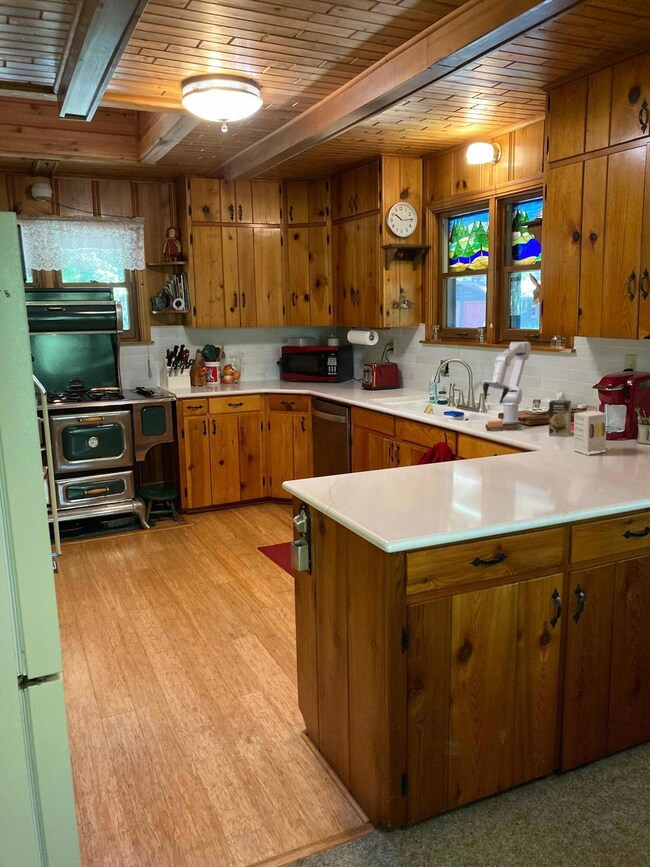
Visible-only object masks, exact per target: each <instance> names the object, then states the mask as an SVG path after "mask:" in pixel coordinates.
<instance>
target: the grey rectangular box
mask: <svg viewBox="0 0 650 867" xmlns="http://www.w3.org/2000/svg"><path fill="white" fill-rule="evenodd" d="M571 407H572V401H571V400H557V399H556V400H553V399H552V400H550V401H549V402H548V436H549V437H567V438H568V437H570V435H571V433H572V432H571V426H572V425H571V424H572V422H571V420H572V419H571V418H572V417H571V416H572V415H571V412H572V411H571V410H572V408H571Z"/></svg>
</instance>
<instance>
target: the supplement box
mask: <svg viewBox="0 0 650 867" xmlns="http://www.w3.org/2000/svg"><path fill="white" fill-rule="evenodd" d="M573 416H574V417H573V418H574V419H573V421H574V422H573V426H574V427H573V435H574V436H573V449H574V448H576V449H579V450H583V451H587V452H591V451H602V450H607V413H606V412H600V411H595V410H589V411H581V412H575V413H574V414H573Z"/></svg>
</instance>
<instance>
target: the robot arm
mask: <svg viewBox="0 0 650 867" xmlns="http://www.w3.org/2000/svg"><path fill="white" fill-rule="evenodd" d="M531 349H532V347H531V343H530V342H529V341H511V342H510V343H509V347H508V348H506V349H505V350H504V351H503V352H502V353H501V354H500V355H497V356H495V359H494V370H493V374H492V377H491V380H485V379H482V381H481V386H482V390H483V395H484V396H483V397H484V399H483V400H486V399H487V396H488V390H489V387H490V388H493V389H496V390H502V391H501V393H500V395H499V404H502V405H503V418H502V421H503V424H505V423H517V422H520V423H521V420H520V421H518V419H519V404H520V403H521V402H522V399H523V392H522V390H521V388H519V386H520V382H521V378H522V374H523V371H524V367H525V363H526V361H527V360H529V358H530V354H531ZM512 360H513V361H514V365H513V367H512V368H513V369H512V372H511V375H510V380H509V384H508V385H507V384H504V381H505V378H506V375H507V370H508V367H510V366H511V363H512Z"/></svg>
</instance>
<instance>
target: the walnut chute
mask: <svg viewBox="0 0 650 867" xmlns="http://www.w3.org/2000/svg"><path fill="white" fill-rule="evenodd" d="M485 430H486V432H487V431H491V432H504V431H503V430H506V431H505V432H507V431H522V430H523V425H522V424H521V421H520V422H510V423H503V426H502V427H488V423H486V424H485Z"/></svg>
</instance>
